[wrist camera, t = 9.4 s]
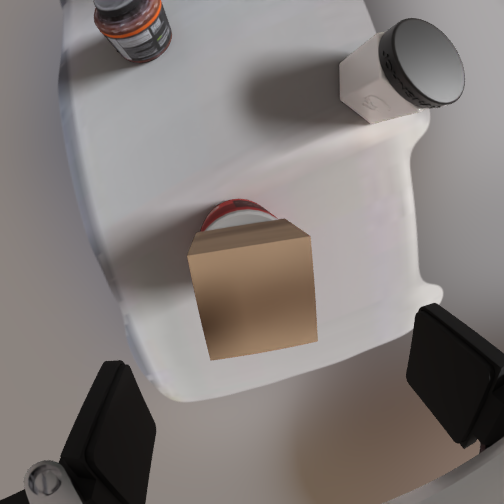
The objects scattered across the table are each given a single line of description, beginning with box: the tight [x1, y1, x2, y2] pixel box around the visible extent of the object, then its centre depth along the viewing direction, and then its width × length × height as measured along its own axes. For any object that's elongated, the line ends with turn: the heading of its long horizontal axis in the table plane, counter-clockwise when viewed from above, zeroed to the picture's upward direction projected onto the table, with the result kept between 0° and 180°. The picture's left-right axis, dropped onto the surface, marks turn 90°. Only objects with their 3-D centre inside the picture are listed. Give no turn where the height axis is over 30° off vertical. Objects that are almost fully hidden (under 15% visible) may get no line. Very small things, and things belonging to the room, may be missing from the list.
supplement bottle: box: [94, 0, 172, 63], centre depth 20 cm, size 6×6×11 cm
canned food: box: [200, 199, 279, 232], centre depth 26 cm, size 8×8×11 cm
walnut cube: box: [187, 219, 318, 360], centre depth 18 cm, size 6×6×6 cm
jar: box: [339, 18, 465, 124], centre depth 23 cm, size 9×8×12 cm
